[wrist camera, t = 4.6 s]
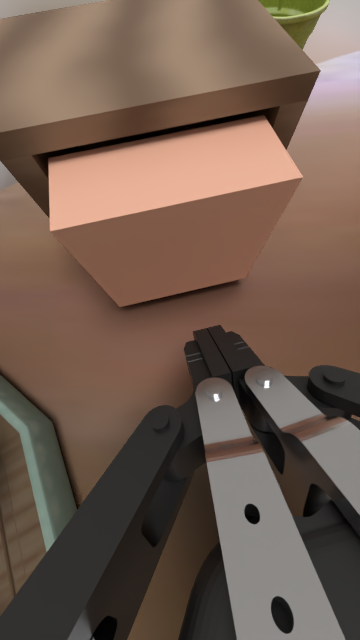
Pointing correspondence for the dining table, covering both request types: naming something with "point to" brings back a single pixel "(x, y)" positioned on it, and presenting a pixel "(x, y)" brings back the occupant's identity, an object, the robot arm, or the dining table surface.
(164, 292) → the salmon pink block
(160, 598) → the dining table surface
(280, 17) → the plant pot
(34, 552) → the tea set
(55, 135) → the brown box with drawer
